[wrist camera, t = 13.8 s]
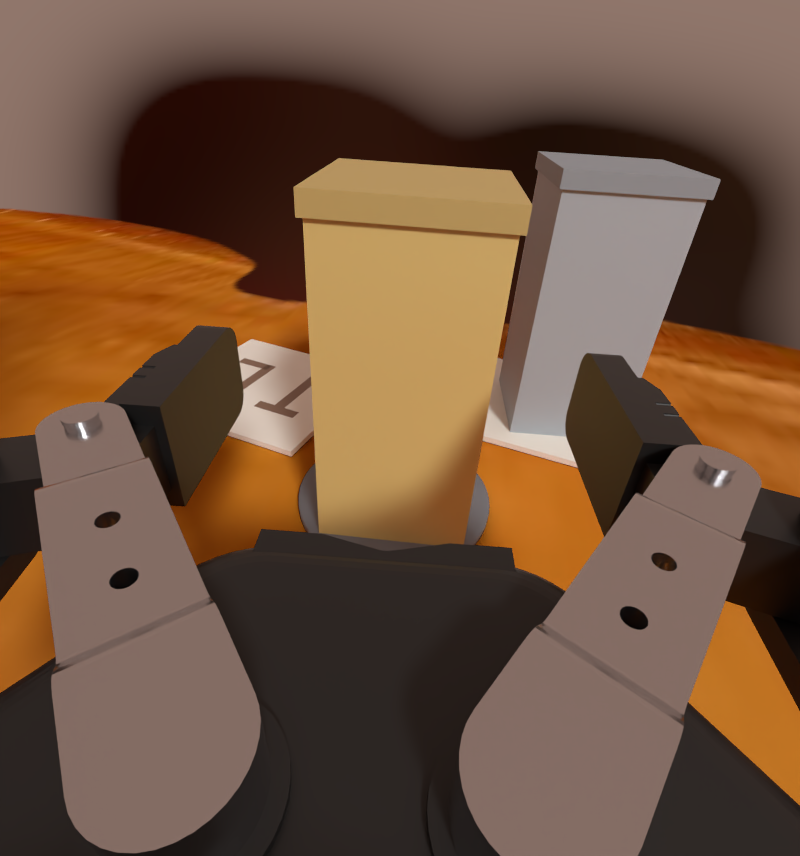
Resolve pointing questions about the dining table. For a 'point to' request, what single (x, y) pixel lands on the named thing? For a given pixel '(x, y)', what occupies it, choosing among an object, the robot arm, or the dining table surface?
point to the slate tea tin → (594, 274)
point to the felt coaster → (310, 523)
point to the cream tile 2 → (523, 442)
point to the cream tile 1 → (274, 397)
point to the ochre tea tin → (404, 338)
